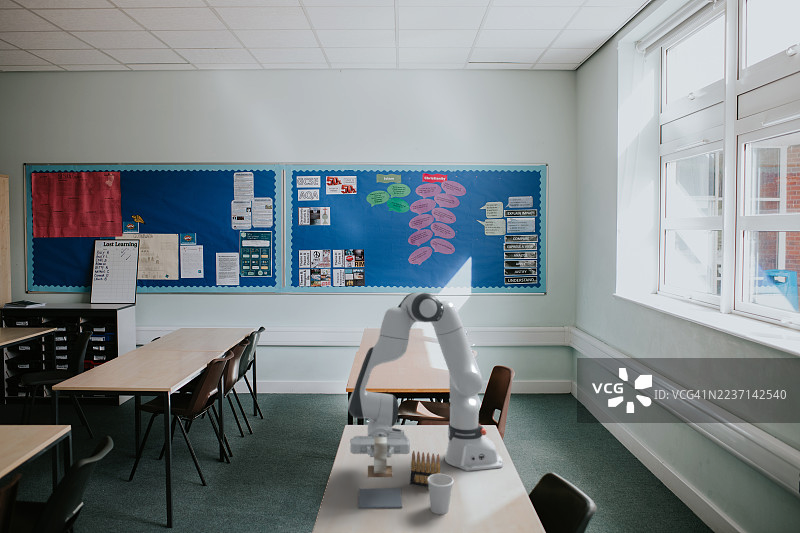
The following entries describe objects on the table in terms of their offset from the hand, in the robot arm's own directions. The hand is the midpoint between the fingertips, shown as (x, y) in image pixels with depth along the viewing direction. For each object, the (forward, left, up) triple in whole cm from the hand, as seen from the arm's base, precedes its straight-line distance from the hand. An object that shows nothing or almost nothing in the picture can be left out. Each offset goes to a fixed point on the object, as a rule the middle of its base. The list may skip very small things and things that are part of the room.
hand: (380, 455), depth 170 cm
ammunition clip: (-16, -10, -16) cm, 25 cm away
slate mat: (0, -1, -15) cm, 15 cm away
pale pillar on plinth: (0, -1, -6) cm, 7 cm away
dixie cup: (-19, +6, -15) cm, 25 cm away
